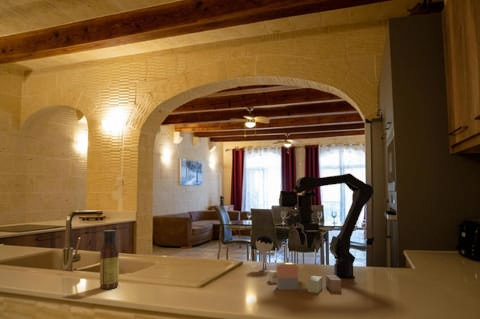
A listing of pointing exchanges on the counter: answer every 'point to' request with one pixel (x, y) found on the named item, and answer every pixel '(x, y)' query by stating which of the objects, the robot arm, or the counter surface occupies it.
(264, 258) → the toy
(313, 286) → the sage block
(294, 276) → the terracotta block
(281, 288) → the slate block
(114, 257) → the sauce bottle
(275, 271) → the birch block
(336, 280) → the walnut block
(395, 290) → the counter surface
